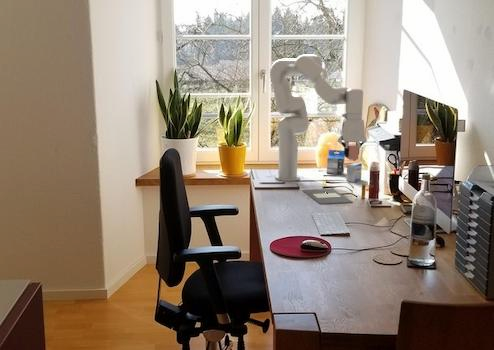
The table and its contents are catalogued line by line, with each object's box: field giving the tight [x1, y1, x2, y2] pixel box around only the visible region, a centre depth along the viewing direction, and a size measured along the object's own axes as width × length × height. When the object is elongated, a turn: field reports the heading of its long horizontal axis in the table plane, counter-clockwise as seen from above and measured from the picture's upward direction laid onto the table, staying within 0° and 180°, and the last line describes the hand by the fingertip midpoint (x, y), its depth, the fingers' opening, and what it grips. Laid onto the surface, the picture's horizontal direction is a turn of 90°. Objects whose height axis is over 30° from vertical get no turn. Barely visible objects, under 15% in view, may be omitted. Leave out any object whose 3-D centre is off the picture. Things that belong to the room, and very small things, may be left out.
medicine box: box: [346, 162, 363, 183], centre depth 290 cm, size 8×4×9 cm, turn 143°
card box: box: [345, 143, 360, 161], centre depth 263 cm, size 7×4×6 cm, turn 10°
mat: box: [302, 188, 354, 205], centre depth 259 cm, size 24×15×1 cm, turn 13°
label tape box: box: [326, 149, 346, 175], centre depth 306 cm, size 9×4×12 cm, turn 73°
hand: (351, 155), depth 264 cm, fingers closed on card box, 4 cm apart
